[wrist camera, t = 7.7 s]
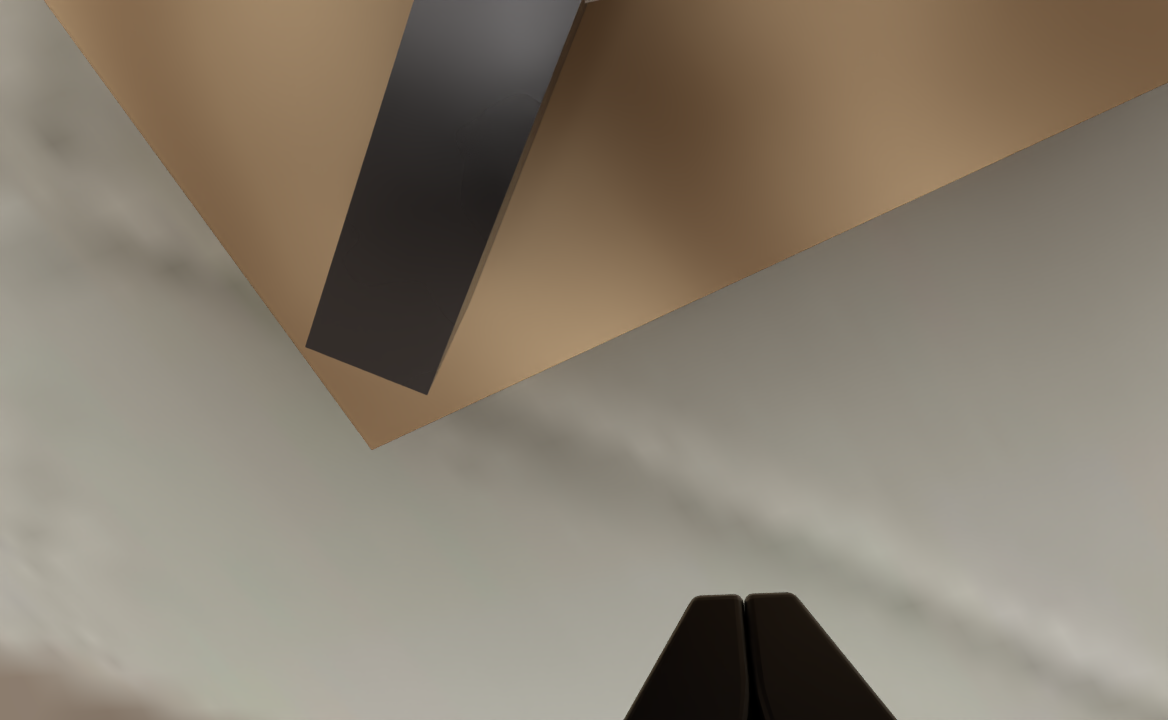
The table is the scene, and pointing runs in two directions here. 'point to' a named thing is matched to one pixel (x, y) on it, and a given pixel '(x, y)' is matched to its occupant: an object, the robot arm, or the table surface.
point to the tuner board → (605, 146)
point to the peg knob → (439, 179)
